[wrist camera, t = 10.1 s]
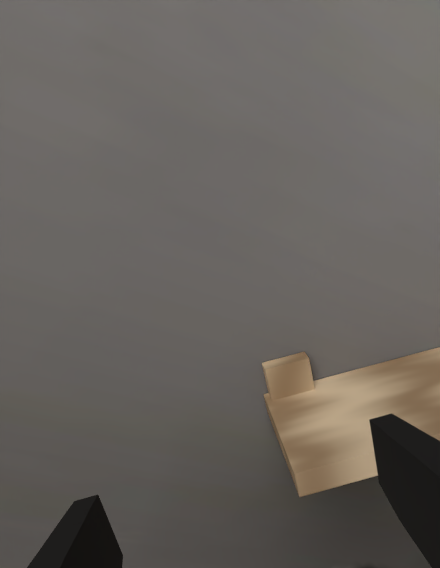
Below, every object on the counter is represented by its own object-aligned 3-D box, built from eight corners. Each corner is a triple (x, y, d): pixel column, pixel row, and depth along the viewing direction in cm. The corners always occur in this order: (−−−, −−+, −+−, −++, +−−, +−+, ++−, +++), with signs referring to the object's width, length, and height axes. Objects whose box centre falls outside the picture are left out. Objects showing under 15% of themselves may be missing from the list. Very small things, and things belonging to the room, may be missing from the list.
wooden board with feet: (499, 299, 21) (621, 343, 15) (502, 378, 22) (615, 445, 16) (256, 364, 20) (285, 434, 15) (274, 440, 22) (307, 532, 16)
